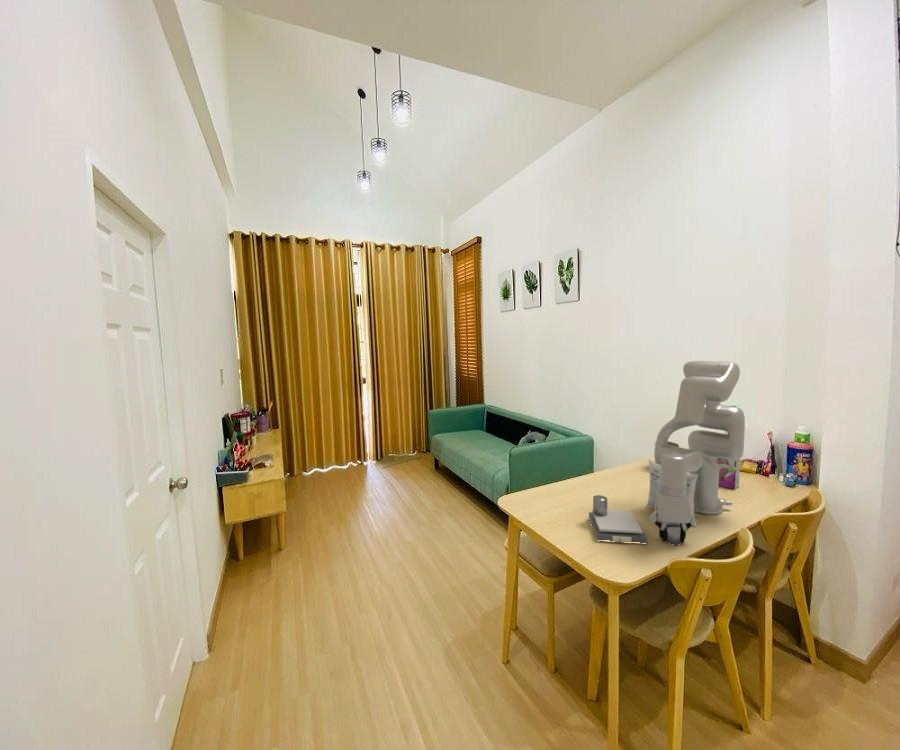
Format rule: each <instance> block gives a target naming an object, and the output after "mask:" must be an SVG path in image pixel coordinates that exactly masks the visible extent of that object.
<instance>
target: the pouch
mask: <svg viewBox="0 0 900 750" xmlns="http://www.w3.org/2000/svg"><path fill="white" fill-rule="evenodd" d="M648 466H649V490H648V499H647V503H646V507H651V508H655V501H656V495H657V492H658V490H660V489H661V465H659V464H657V463H655V461H653V460H652V459H648ZM697 477H698V474H690V473H687V486H688V487H691V491H687V494H688V496H689V501H690V508H691V515H692V516H693V517H694V518H695V511H694V492H695V484H696V480H697ZM692 526H693V527H695V528H696V523H695V524H693V525H692Z"/></svg>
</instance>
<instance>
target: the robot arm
mask: <svg viewBox="0 0 900 750" xmlns="http://www.w3.org/2000/svg"><path fill="white" fill-rule="evenodd" d="M682 369H683V375H684V377H685V378H683V379H682V380H681V382H680V387H679V393H678V398H677V403H676V409H675V415H674V417H672V418H671V419H670V420H669V421H668V422H666V424H664V425H663V426H662V427H661V429H660V430H659V432H658V434H657V436H656V441H655V443H656V445H655V444H654V445H655V447H654V453H653V455H654V461H655V460H656V462H657V463H658V464H660V465H661V489H660V490H658V492H657V495H656V501H655V507H654V508H653V509H654V510H653V513H651V514H650V516H648V519H649V521H650V522H652V523H653V524H654V525H656V527H658V530H659V531H658V536H659V537H660V539H661V540H662V541H663V542H665V541H666V530H665V526H666V524H667V523H678V524H680V525H681V543H685V539H686V532H688V530H689V529H690V528H691V527H692V526H693V524H695V525H696V523H697V522H698V520H697V519H696V518H695V516H694V517H693V516H692V515H691V508H690V501H689V496H688V494H687V491H691V487H688V486H687V474H698V477H697V480H696V484H695V492H694V513H699V514H702V515H709V516H711V515H712V516H715V515H719V514H722V513H723V506H732V505H733V502H732V500H729V499H725V498H724V497H719V487H720V486H719V466H718V463H717V462H716V460H715V459H714V457H717V458H723V459H728V460H739V459H740V460H741V458H742V457H743V455H744V449H745V427H746V425H745V424H746V423H745V422H746V419H745V413H744V411H743V409H742V408H740V407H738V406H735V405H734V406H732V405H722V403H724V402H727V401H728V400H729V398H730V396H731V395H732V393H733V391H734V389H735V387H736V385H737V383H738V381H739V380H740V375H741V371H740V370H741V369H740V366H739V364H737V363H735V362H732V361H714V360H713V361H712V360H693V361H692V360H691V361H688V362H685V364H684V365H683V368H682ZM693 426H698V427H700V428H705V429H711V430H716V431H717V430H719V431H725V432H726V433H723V432H716V431H709V430H704V429H703V430H702V429H699V430H698V429H697V430H692V431H691V432H690V433H689V435H688V437H687V445H688V448H686V447H680V446H679V447H675V446H670V445H667V442H669V438H670V437H671V435H672V434H673V433H675V432H676V431H679V430H680V429H684V428H688V427H693ZM657 518H658V520H657ZM665 543H666V542H665Z"/></svg>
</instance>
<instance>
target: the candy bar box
mask: <svg viewBox="0 0 900 750" xmlns="http://www.w3.org/2000/svg"><path fill="white" fill-rule="evenodd" d="M714 459H715V460H716V462H717V463H718V466H719V487H723V488H726V489H730V490H734V491H735V490H736V489H738V488H739V487H740V469H741V458H740V459H739V460H728V459H723V458H717V457H714Z"/></svg>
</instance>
